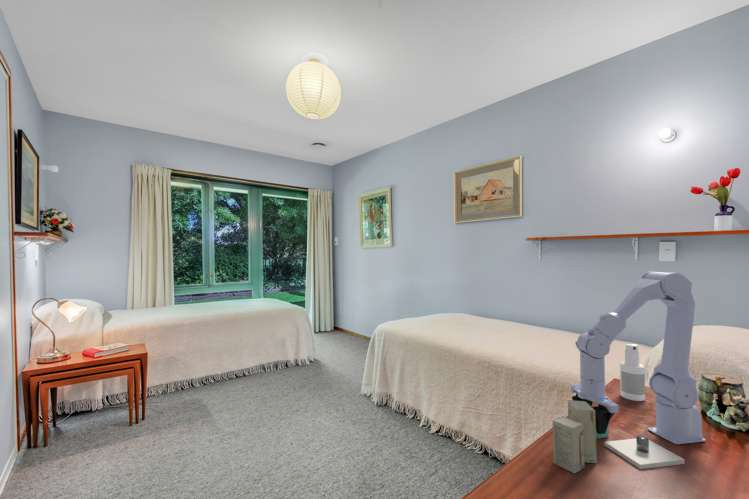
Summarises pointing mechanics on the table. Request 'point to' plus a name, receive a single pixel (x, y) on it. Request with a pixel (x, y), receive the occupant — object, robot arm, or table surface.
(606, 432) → the teal brick on tray
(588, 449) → the skincare box
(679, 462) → the post board
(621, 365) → the spray bottle
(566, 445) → the skincare box
